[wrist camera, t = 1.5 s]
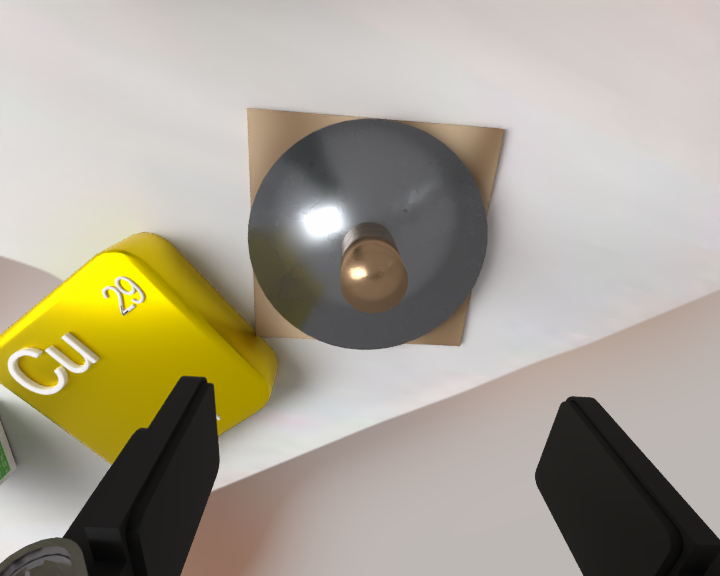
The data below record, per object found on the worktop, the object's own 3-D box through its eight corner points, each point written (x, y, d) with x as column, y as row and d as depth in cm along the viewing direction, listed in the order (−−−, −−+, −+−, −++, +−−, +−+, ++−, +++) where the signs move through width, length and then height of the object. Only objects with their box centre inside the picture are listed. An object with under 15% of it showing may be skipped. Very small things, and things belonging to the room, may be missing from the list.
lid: (504, 129, 24) (562, 133, 18) (459, 346, 31) (490, 408, 24) (247, 108, 23) (208, 104, 17) (256, 336, 30) (230, 397, 23)
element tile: (162, 446, 35) (135, 493, 31) (16, 330, 30) (-41, 366, 26) (290, 363, 32) (280, 402, 28) (151, 218, 27) (112, 238, 22)
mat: (502, 128, 25) (504, 129, 24) (458, 343, 31) (459, 346, 31) (248, 108, 24) (247, 108, 23) (257, 333, 30) (255, 336, 30)
